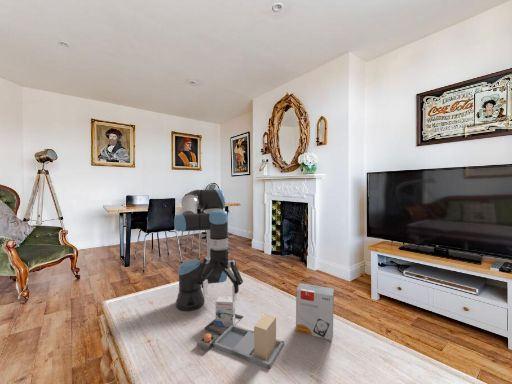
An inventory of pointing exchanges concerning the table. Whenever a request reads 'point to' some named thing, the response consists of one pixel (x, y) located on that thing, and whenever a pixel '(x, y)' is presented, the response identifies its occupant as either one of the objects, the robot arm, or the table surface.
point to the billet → (265, 337)
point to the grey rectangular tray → (244, 345)
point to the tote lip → (216, 330)
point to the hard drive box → (315, 310)
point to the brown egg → (207, 338)
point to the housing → (205, 345)
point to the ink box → (225, 312)
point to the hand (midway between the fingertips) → (219, 298)
